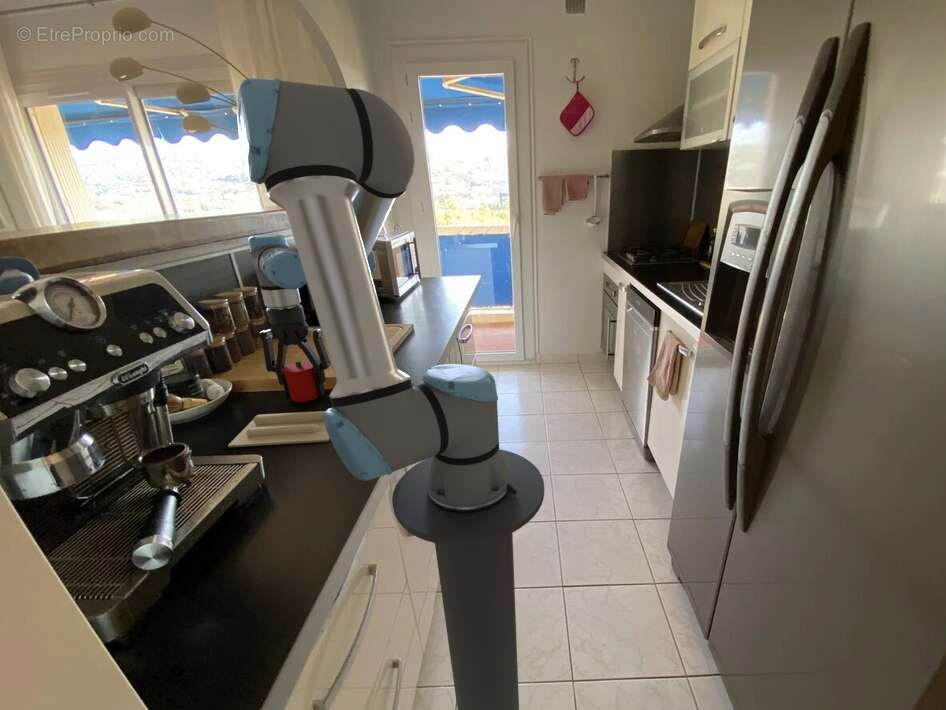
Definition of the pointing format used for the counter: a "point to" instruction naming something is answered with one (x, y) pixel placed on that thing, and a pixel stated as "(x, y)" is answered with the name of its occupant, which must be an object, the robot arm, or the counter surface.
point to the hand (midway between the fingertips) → (306, 395)
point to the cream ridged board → (283, 429)
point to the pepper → (301, 381)
